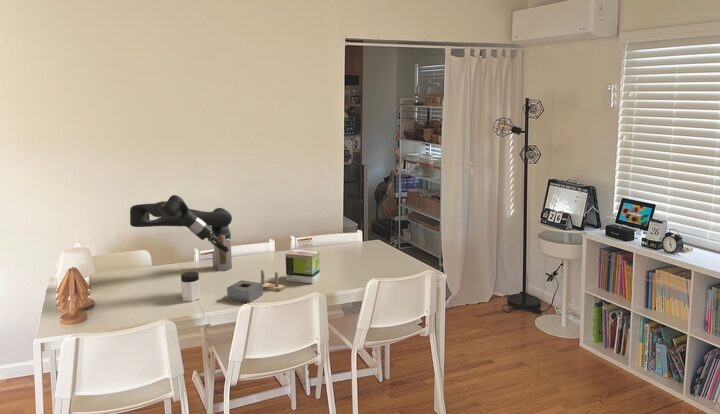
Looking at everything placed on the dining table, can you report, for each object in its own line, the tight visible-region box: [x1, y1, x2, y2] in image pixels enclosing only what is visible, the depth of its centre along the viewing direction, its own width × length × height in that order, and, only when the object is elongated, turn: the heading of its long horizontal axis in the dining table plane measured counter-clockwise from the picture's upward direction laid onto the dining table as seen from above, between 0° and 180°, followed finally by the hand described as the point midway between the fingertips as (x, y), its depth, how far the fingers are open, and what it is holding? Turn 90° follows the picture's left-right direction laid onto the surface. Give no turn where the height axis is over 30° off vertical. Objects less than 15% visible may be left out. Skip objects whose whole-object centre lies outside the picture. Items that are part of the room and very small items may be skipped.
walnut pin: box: [218, 235, 226, 264], centre depth 302 cm, size 3×3×14 cm
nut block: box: [226, 279, 264, 304], centre depth 294 cm, size 12×12×6 cm
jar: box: [180, 271, 201, 302], centre depth 292 cm, size 9×8×12 cm
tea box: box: [285, 248, 321, 284], centre depth 319 cm, size 15×10×15 cm, turn 71°
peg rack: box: [259, 269, 286, 292], centre depth 307 cm, size 14×5×8 cm, turn 68°
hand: (226, 250), depth 303 cm, fingers closed on walnut pin, 3 cm apart
